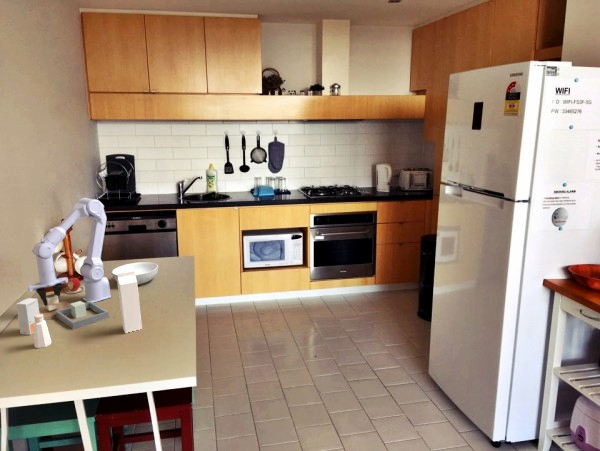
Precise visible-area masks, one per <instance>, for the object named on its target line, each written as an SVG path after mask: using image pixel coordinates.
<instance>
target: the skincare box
mask: <svg viewBox="0 0 600 451" xmlns="http://www.w3.org/2000/svg"><path fill="white" fill-rule="evenodd" d="M38 300H39V299H38V298H31V297H27V298H25V299H23V300H21V301H19V302H17V303H16V304H15V305H16V306H15V307H16V312H17V319H18V325H19V331H20V335H26V336H31V335H32V334H34V322H35V318H34V316H35V315H37V314H40V313H39V308H40V307H39V301H38Z"/></svg>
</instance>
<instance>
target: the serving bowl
mask: <svg viewBox="0 0 600 451" xmlns="http://www.w3.org/2000/svg"><path fill="white" fill-rule="evenodd" d="M158 270H159V265H158V264H157V263H154V262H150V261H148V262H146V261H143V262H133V263H126V264H124V265H123V264H122V265H119V266H118V267H115V268H114V269H113V270H112V271H111V273H112V274H111V275H112V277H113V279H114V280H115V281H116V282H117V279H118V274H120V273H126V272H132V271H134V272H135V276H136V280H137V286H138V285H142V284H146V283H148V282H150V281H151V280H153V279H154V278H155V277H156V276H157V274H158Z"/></svg>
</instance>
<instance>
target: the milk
mask: <svg viewBox="0 0 600 451" xmlns="http://www.w3.org/2000/svg"><path fill="white" fill-rule="evenodd" d="M116 282H117V283H116V284H117V288H118V289H117V292H118V299H119V308H120V315H121V324H122V325H121V326H122V328H123V329H122V330H123V332H124V333H125V334H129V333H128V332H130V333H133V332H132V331H135V332H137V331H136V330H139V331H141V330H140V329H142V330H143V324H142V323H143V322H142V317H141V316H142V315H141V307H140V305H141V304H140V294H139V289H138V285H137V280H136V276H135V272H134V271H132V272H126V273H120V274H118V279H117V281H116Z"/></svg>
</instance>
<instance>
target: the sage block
mask: <svg viewBox="0 0 600 451" xmlns="http://www.w3.org/2000/svg"><path fill="white" fill-rule="evenodd" d="M85 303H86V302H83V301H81V300H79V301H75V302H71V303H69V304H70V306H71V313H72V314H71V316H72V317H74V318H75V319H79V318H82V317H85V316H87V309H86V307H85Z"/></svg>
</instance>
